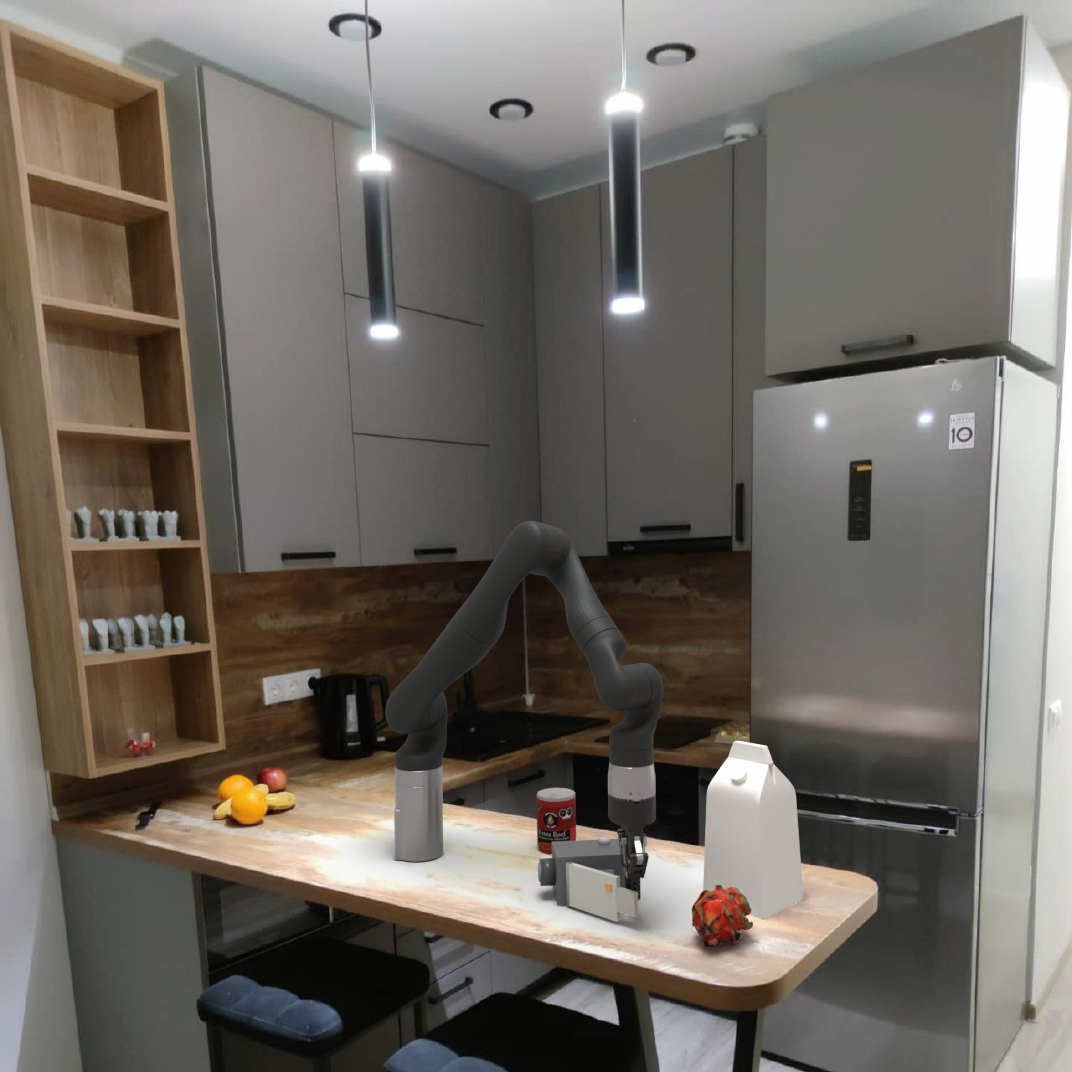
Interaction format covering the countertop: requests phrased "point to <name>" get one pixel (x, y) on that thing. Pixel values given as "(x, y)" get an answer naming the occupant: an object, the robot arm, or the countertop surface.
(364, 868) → the countertop surface
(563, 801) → the canned food
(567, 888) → the side door
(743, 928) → the dragon fruit
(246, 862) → the countertop surface
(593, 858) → the camera body
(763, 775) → the milk
